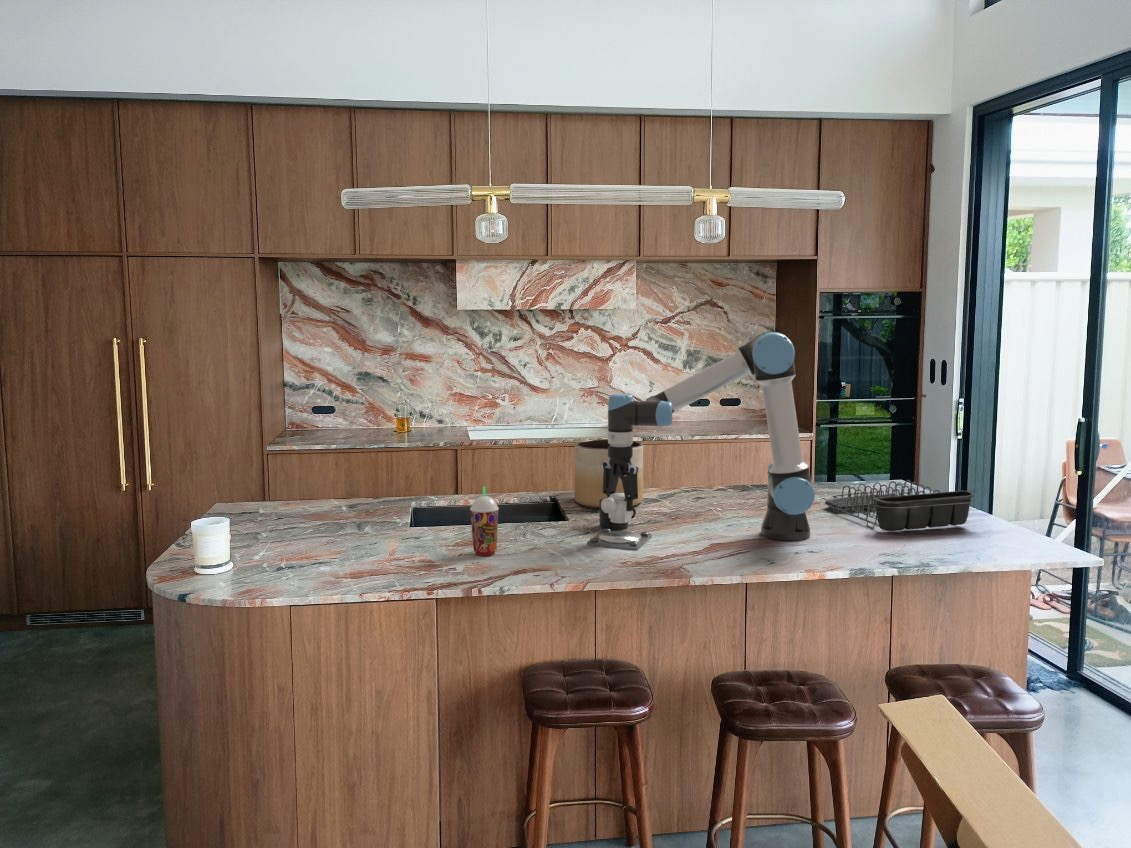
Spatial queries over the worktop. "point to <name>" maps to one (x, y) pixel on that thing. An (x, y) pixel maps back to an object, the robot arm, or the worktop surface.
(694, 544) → the worktop surface
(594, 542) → the duct flange
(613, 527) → the mug
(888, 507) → the dish rack
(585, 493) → the planter
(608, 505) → the elbow
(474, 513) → the smoothie
